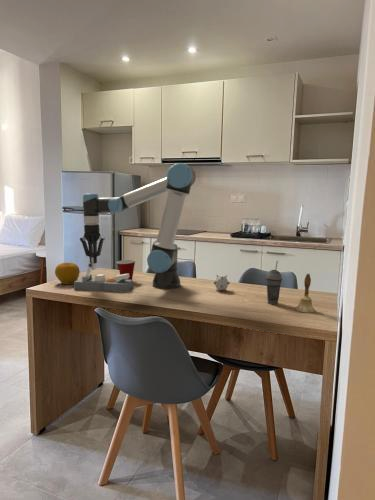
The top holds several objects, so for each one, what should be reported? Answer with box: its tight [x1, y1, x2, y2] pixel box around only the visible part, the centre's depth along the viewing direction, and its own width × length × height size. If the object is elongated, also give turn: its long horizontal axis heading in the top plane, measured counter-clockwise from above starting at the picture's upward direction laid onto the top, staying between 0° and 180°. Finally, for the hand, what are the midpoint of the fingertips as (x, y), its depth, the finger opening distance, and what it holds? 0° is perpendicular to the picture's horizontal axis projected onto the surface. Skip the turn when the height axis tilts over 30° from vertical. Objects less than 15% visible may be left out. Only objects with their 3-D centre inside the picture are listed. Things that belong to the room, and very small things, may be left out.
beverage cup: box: [265, 260, 283, 306], centre depth 165 cm, size 7×7×20 cm
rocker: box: [114, 273, 130, 281], centre depth 187 cm, size 6×4×2 cm, turn 83°
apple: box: [54, 262, 80, 285], centre depth 198 cm, size 13×13×11 cm
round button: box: [106, 276, 115, 282], centre depth 188 cm, size 4×4×4 cm
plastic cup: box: [116, 259, 136, 280], centre depth 204 cm, size 11×11×12 cm
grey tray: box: [73, 273, 133, 293], centre depth 188 cm, size 28×10×6 cm, turn 83°
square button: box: [94, 273, 106, 282], centre depth 188 cm, size 4×4×4 cm
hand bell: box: [295, 273, 316, 314], centre depth 156 cm, size 8×8×16 cm
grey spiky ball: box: [213, 274, 231, 292], centre depth 187 cm, size 9×8×10 cm
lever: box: [84, 262, 93, 280], centre depth 189 cm, size 3×5×9 cm, turn 173°
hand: (93, 269), depth 188 cm, fingers closed
